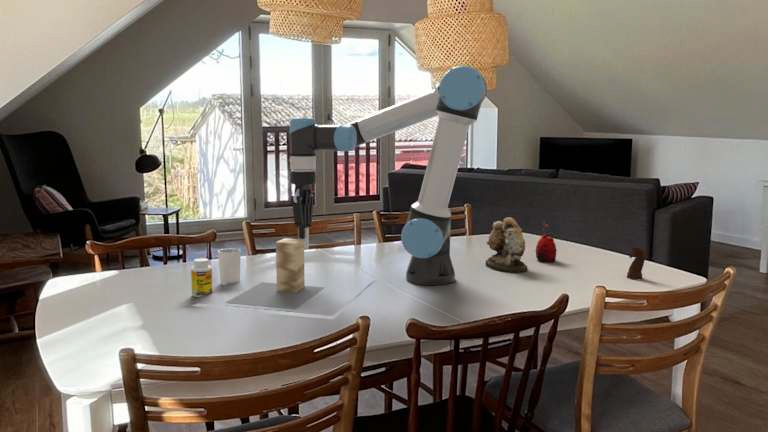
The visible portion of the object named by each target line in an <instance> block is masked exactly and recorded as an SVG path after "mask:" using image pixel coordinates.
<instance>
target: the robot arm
mask: <svg viewBox="0 0 768 432" xmlns="http://www.w3.org/2000/svg"><path fill="white" fill-rule="evenodd" d="M487 93H488V86H487V82H486V80H485V77H484V76H483V74H482V73H480V71H479V70H478V69H476V68H475V67H472V66H470V65H458V66H454V67H452V68H450V69H449V70H447V71H446V72H445V74H443V76H442V78H441V79H440V82H439V83H437V84H436V85H435V88H434V89H432V90H430V91H427V92H425V93H422V94H419V95H417V96H414V97H412V98H410V99H407V100H403V101H401V102H399V103H397V104H395V105H391V106H389V107H386V108H383V109H381V110H379V111H376V112H373V113H372V114H368V115H366V116H364V117H361V118H359V119H356V120H353V121H350V122H348V123H345V124H317V121H316V119H315V118H314V117H292V118H291V119H290V120H289V121H290V122H289V133H288V134H289V159H288V161H289V165H290V167H289V168H290V170H291V171H290V173H289V176H290V177H289V179H290V180H289V182H290V184H292V185H295V187H294V194H293V195H291V196H290V201H291V203H292V212H293V221H294V228H296V229H297V230H298V235H297V236H298V238H297V239H304V250H309V248H310V245H309V244H310V243H309V241H310V240H309V239H310V238H309V237H310V236H309V235H310V234H309V233H310V232H309V231H310V229H309V228H311V227H313V224H312V222H313V213H314V212H313V211H314V199H315V195H316V193H315V191H312V185H314V184H316V181H317V180H316V179H317V173H316V171H315V170H316V168H317V158H316V156H317V154H316V153H317V152H316V151H325V152H327V151H328V152H329V151H330V152H342V153H344V152H353V151H354V150H355V149H356V148H358V147H359V146H361V145H364V144H366V143H369V142H371V141H374V140H377V139H380V138H381V137H385V136H387V135H390V134H392V133H395V132H398V131H400V130H403V129H406V128H408V127H411V126H414V125H416V124H419V123H422V122H424V121H428V120H430V119H432V118H434V117H435V118H436V117H438V123H437V126H436V129H435V133H434V138H433V141H432V146H431V149H430V152H429V157H428V161H427V164H426V168H425V173H424V175H423V180H422V184H421V187H420V188H421V189H420V192H419V195H418V198H417V199H418V200H416V201H415V202H414V203H412V204H411V206H410V210H409V212H408V216H407V220H406V223H405V225H404V226H403V227H402V230H401V237H400V238H401V239H400V240H401V244H402V247H404V250H405V251H406V252H407V253H408V254H410V255H411V257H410V260H409V264H408V266H407V270H406V276H405V279H406V281H407V282H409V283H413V284H415V285H422V286H423V285H424V286H442V285H449V284H452V283H454V282H455V281H456V272H455V268H454V265H453V262H452V259H451V258H452V257H451V222H452V220H451V219H452V212H451V209H450V208H449V203H450V199H451V197H452V196H451V195H452V192H453V188H454V185H455V181H456V178H457V174H458V169H459V166H460V162H461V159H462V156H463V151H464V147H465V143H466V140H467V136H468V133H469V128H470V126H471V125H473V124H474V123H476V122H477V120H478V117H479V113H480V110H481V107H482V103H483V102H484V100H485V99H486V97H487Z"/></svg>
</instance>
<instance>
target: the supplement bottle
mask: <svg viewBox="0 0 768 432" xmlns="http://www.w3.org/2000/svg"><path fill="white" fill-rule="evenodd" d="M190 274H191V275H190V276H191V278H190V279H191V295H192V296H193V297H195V298H202V297H204V296H207V295H210V294H213V267H212V266H211V265H210V261H209V258H206V257H202V258H195V259H194V260H193V266H192V267H190Z"/></svg>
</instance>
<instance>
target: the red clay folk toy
mask: <svg viewBox="0 0 768 432" xmlns="http://www.w3.org/2000/svg"><path fill="white" fill-rule="evenodd" d="M542 225H543V230H542V231H543V235H541V236H540V238H539V240H538V241H537V244H536V245H535V248H536V249H535V257H536V259H537V261H540V262H542V263H552V262H553V263H554V262H556V257H557V253H558V252H557V246H556V243H555V240H554V238H553V237H551V236H547V234H546V228H548V227H549V224H546V222H545V221H544V220H542Z"/></svg>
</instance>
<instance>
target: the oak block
mask: <svg viewBox="0 0 768 432" xmlns="http://www.w3.org/2000/svg"><path fill="white" fill-rule="evenodd" d="M275 257H276V259H275V260H276V268H275V269H276V283H277V290H278V291H290V292H297V291H299V290H300V289H302V288H303V287H305V286H306V284H305V282H306V281H305V249H304V239H298V238H287V237H284V238H283V239H280V240H277V241H276V242H275Z"/></svg>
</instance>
